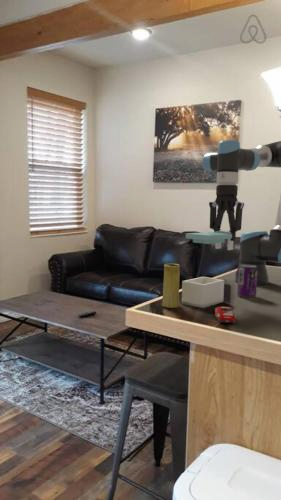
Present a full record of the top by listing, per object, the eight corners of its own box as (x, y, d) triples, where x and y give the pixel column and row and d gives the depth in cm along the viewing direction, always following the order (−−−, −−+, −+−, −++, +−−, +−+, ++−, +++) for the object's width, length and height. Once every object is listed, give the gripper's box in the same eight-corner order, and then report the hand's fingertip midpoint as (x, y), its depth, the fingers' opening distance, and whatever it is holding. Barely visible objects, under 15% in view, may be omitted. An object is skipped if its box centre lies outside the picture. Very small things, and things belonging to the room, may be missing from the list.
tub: (202, 297, 153) (203, 276, 152) (223, 301, 147) (224, 280, 146) (181, 303, 143) (182, 281, 142) (202, 308, 137) (203, 284, 136)
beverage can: (256, 299, 152) (258, 267, 151) (237, 297, 154) (238, 266, 152) (255, 295, 159) (257, 264, 158) (236, 293, 160) (238, 263, 159)
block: (217, 239, 154) (217, 230, 153) (240, 241, 147) (241, 232, 147) (185, 242, 140) (185, 232, 139) (209, 244, 133) (209, 234, 133)
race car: (213, 313, 132) (214, 301, 132) (230, 314, 132) (231, 302, 131) (217, 325, 119) (217, 311, 119) (236, 326, 119) (236, 312, 118)
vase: (181, 304, 141) (182, 264, 140) (177, 308, 136) (178, 266, 134) (164, 302, 143) (165, 262, 142) (159, 307, 138) (160, 265, 136)
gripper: (201, 184, 149) (198, 247, 152) (243, 183, 137) (239, 252, 140) (212, 185, 155) (209, 246, 157) (254, 184, 143) (250, 250, 145)
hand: (224, 249), depth 149 cm, fingers closed on block, 4 cm apart
